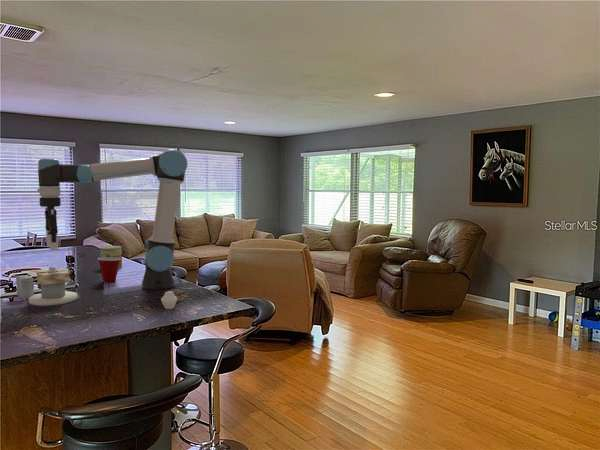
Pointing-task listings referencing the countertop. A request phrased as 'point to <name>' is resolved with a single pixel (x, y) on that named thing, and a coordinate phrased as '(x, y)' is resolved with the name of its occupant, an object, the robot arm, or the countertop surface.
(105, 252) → the canned food
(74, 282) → the countertop surface
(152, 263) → the robot arm
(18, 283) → the medicine box
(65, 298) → the post stand
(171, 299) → the muffin
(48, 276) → the slotted arch block
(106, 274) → the plastic cup
